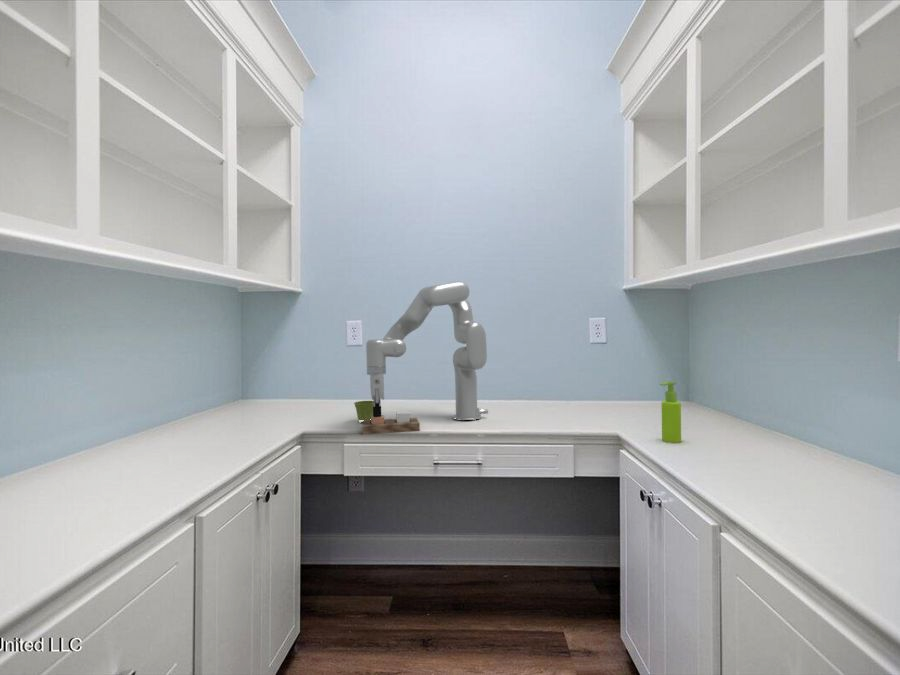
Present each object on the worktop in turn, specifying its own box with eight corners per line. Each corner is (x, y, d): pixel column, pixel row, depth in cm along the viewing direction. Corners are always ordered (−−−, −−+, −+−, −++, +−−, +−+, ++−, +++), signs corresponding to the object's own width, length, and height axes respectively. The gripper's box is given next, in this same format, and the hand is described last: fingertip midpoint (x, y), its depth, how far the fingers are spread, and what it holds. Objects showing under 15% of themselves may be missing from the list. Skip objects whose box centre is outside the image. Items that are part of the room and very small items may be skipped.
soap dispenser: (655, 440, 157) (654, 381, 156) (671, 438, 159) (670, 380, 159) (669, 444, 151) (668, 383, 151) (685, 441, 154) (684, 382, 153)
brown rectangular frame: (416, 424, 191) (416, 417, 191) (419, 430, 179) (419, 423, 179) (362, 427, 187) (362, 420, 187) (362, 434, 175) (362, 426, 175)
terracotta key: (384, 424, 185) (383, 415, 185) (384, 427, 180) (384, 417, 180) (371, 425, 184) (371, 415, 184) (371, 428, 179) (371, 418, 179)
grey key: (408, 420, 187) (408, 411, 187) (409, 423, 182) (409, 413, 182) (396, 421, 186) (396, 411, 186) (397, 424, 181) (396, 413, 181)
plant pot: (369, 424, 193) (369, 404, 193) (350, 423, 196) (349, 403, 196) (380, 420, 202) (379, 400, 202) (361, 419, 205) (360, 400, 205)
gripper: (386, 371, 175) (387, 419, 175) (385, 368, 190) (386, 412, 190) (366, 372, 174) (367, 420, 174) (366, 369, 188) (367, 413, 189)
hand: (377, 416), depth 182 cm, fingers closed
